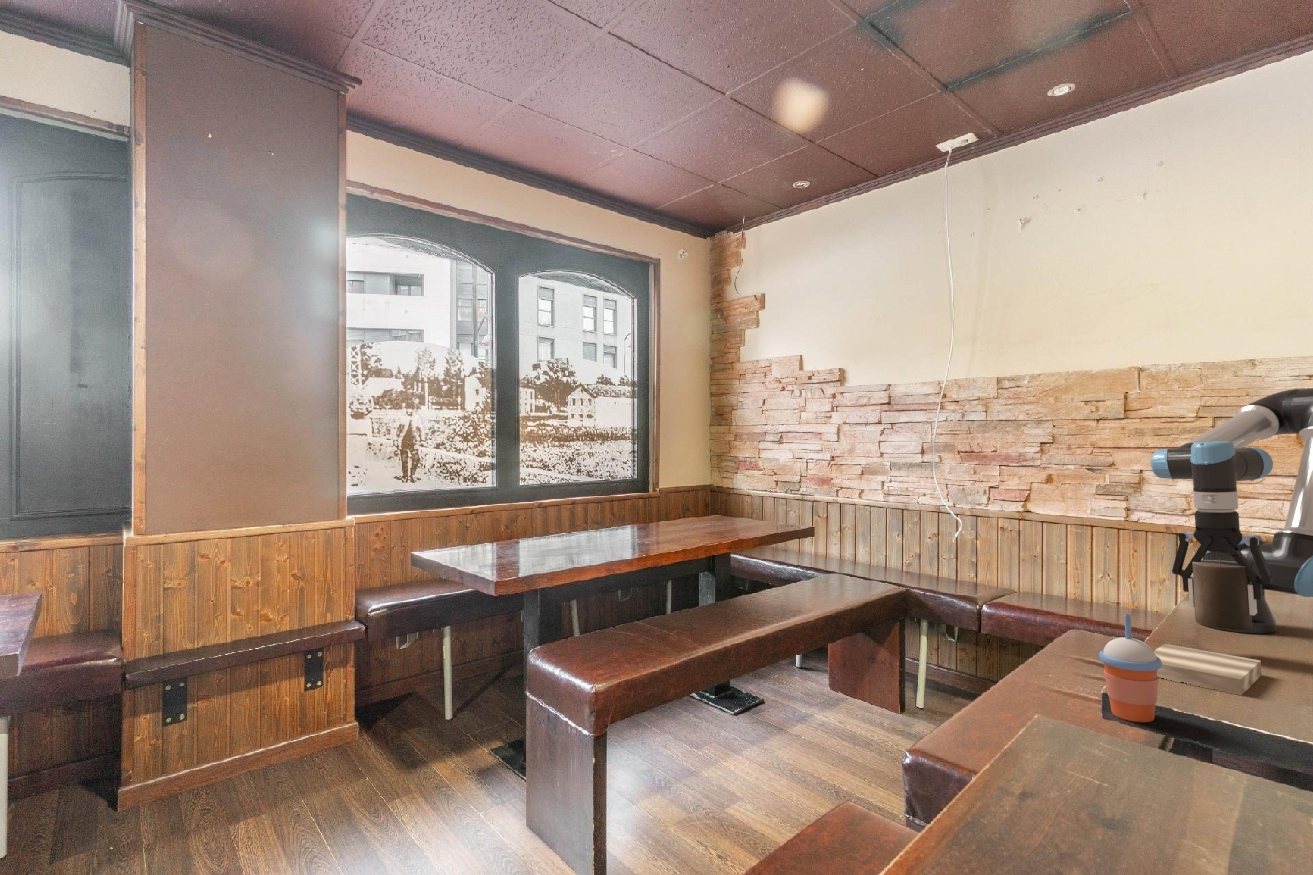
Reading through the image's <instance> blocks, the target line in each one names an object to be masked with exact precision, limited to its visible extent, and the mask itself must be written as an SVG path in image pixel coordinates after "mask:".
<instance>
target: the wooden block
mask: <svg viewBox="0 0 1313 875" xmlns="http://www.w3.org/2000/svg"><path fill="white" fill-rule="evenodd" d="M1153 651H1154V653H1155V655H1156V656H1157V657H1159V658H1160V660H1161V662H1162V667H1161V668H1160V669H1158V670H1157V676H1158V677H1159V678H1158V679H1161V678H1164V679H1163V680H1166V679H1167V680H1168V681H1171V680H1172V681H1173V682H1176V683H1180V682H1184V683H1183V684H1185V683H1187V685H1190V684H1191V686H1196V687H1199V686H1200V687H1201V688H1205V689H1210V690H1214V689H1215V690H1214V691H1219V692H1224V693H1227V694H1228V693H1229V694H1233V695H1238V696H1243V695H1244V694H1245V693H1246V691H1248V690H1249V689H1250V688H1251V686H1253V685H1254V683H1256V681H1258V680H1259V678H1261V676H1262V663H1261V660H1258V659H1253V658H1247V657H1242V656H1238V655H1237V656H1236V655H1230V654H1225V653H1220V652H1214V651H1207V650H1204V649H1203V650H1201V649H1197V648H1191V647H1185V646H1179V645H1174V644H1168V643H1163V644H1162V645H1160V646H1159V647H1157V648H1156V649H1155V650H1153ZM1167 680H1166V681H1167Z"/></svg>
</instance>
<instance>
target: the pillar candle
mask: <svg viewBox="0 0 1313 875" xmlns="http://www.w3.org/2000/svg"><path fill="white" fill-rule="evenodd" d="M1218 559H1219V560H1203V559H1201V561H1199V562H1192V565H1193V573H1192V577H1193V583H1194V620H1195V622H1196V623H1197V624H1199V625H1202V626H1205V627H1209V628H1212V627H1213V628H1212V629H1216V628H1220V629H1219V630H1221V629H1230V630H1247V629H1251V628H1252V615H1250V613H1249V599H1248V584H1249V583H1250V581H1249V578H1248V577H1247V576H1246V567H1245V566H1239V565H1238V563H1237V562H1233V561H1221V560H1220V558H1219V557H1218Z"/></svg>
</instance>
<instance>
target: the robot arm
mask: <svg viewBox="0 0 1313 875" xmlns="http://www.w3.org/2000/svg"><path fill="white" fill-rule="evenodd" d="M1297 434H1298V436H1299V437H1300V438H1301V439H1302V440H1303V441H1304V446H1303V450H1302V454H1301V458H1300V462H1299V467H1298V470H1297V474H1296V478H1295V483H1294V488H1293V490H1292V495H1291V499H1290V504H1289V508H1288V512H1287V515H1286V520H1285V523H1284V524H1285V525H1284V528H1283V529H1280V530H1278V531H1275V532H1274V534H1273V537H1272V541H1271V542H1265V541H1264V540H1263V538H1262V536H1261V535H1256V534H1243V533H1242V532H1241V530H1240V515H1239V512H1238V511H1236V510H1238V509H1239V502H1238V501H1239V498H1238V489H1237V482H1244V481H1246V482H1247V481H1251V482H1252V481H1253V482H1254V481H1255V480H1260V479H1263V478H1265V477H1267V476H1268V475H1270V473H1271V472H1272V470H1273V469H1274V468H1273V467H1274V462H1273V457H1272V456H1271V455H1270V454H1269V453H1268V452H1267V451H1266V450H1264V449H1262V448H1259V447H1252V446H1249V445H1250V444H1253V443H1254V442H1256V441H1258V440H1260V441H1261V440H1266V439H1270V438H1272V437H1273V436H1276V435H1277V436H1278V435H1297ZM1150 466H1151V470H1152V472H1153V474H1154V475H1155V476H1156V477H1157V478H1160V479H1167V480H1169V479H1171V480H1173V481H1174V480H1192V486H1193V489H1192V492H1193V493H1192V494H1193V508H1195V509H1196V511H1195V512H1194V521H1195V522H1194V526H1195V530H1194V531H1193V532H1186V531H1182V532H1179V533H1178V540H1179V541H1178V542H1179V543H1178V547H1177V551H1176V556H1175V559H1174V562H1173V564H1172V565H1173V566H1172V569H1171V573H1172V574H1174V575H1177V576H1180V577H1181V578H1182V589H1183V591H1184V592H1188V598H1189V599H1188V600H1189V608H1194V609H1195V607H1194V583H1193V565H1192V562H1199V561H1201V560H1219V559H1218V557H1219V558H1220V560H1221V561H1233V562H1237V563H1238V565H1239V566H1245V567H1246V576H1247V577H1248V578H1249V581H1250V583H1249V584H1248V599H1249V613H1250V615H1252V628H1251V629H1247V630H1230V629H1220V628H1215V629H1216V630H1220V631H1221V630H1222V631H1227V632H1235V633H1243V634H1247V633H1248V634H1270V633H1274V632H1276V631H1277V621H1276V619H1275V617H1274V614H1273V612H1272V610H1271V608H1270V606H1269V604H1268V602H1267V600H1266V593H1265V591H1271V592H1276V593H1277V592H1278V593H1284V594H1290V595H1295V596H1301V597H1303V598H1313V387H1310V388H1299V389H1298V388H1294V389H1287V390H1283V391H1278V392H1276V393H1272V394H1269V395H1267V396H1264V397H1261V398H1260V399H1257V400H1255V401H1252V402H1250V403H1249V404H1247V405H1245V406H1242V407H1241V408H1240V409H1239V410H1237V411H1236V412H1235V414H1234V416H1233V417H1231V418H1229V419H1227V420H1226V421H1224V422H1223V423H1220V424H1219V425H1217V426H1214V427H1213V428H1211V429H1209V430H1208V431H1206V432H1204V433H1202V434H1201V435H1199V436H1197V437H1194V438H1192V439H1191V440H1190V441H1188V442H1186V443H1184V444H1182V445H1180V446H1178V447H1177V448H1164V449H1163V448H1162V449H1157V450H1156V451H1154V453H1153V454H1152V456H1151V458H1150ZM1193 538H1194V539H1195V540H1196V541H1197V542H1198V543H1199V544H1200V545H1199V547H1198V548H1197V549H1196V551H1195V553H1194V554H1193V557H1192V558H1191V559H1190V560H1189V562H1188V564H1187V565H1186V567H1185V569H1183V566H1184V562H1185V561H1186V560H1185V558H1186V556H1187V551H1188V548H1189V544H1190V542H1192V540H1193ZM1211 628H1212V629H1214V628H1213V627H1211Z"/></svg>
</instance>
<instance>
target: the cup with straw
mask: <svg viewBox="0 0 1313 875" xmlns="http://www.w3.org/2000/svg"><path fill="white" fill-rule="evenodd" d="M1131 617H1132V615H1131V614H1130V613H1125V614H1124V631H1125V632H1124V633H1125V634H1124V635H1125V636H1124V637H1115V638H1114V639H1112V640H1110V641H1108V642H1107V644H1105V646H1104V648H1103V649H1102V650H1099V653H1098V658H1099V660H1100V661H1101V662H1102V663H1103V664H1104V666H1103V667H1104V669H1103V673H1104V680H1105V685H1106V693H1107V695H1108V698H1109V699H1108V700H1109V703H1110V711H1111V713H1112V714H1113V715H1114V716H1115V717H1117V718H1119V719H1122V720H1125V721H1129V722H1134V723H1150V722H1153V721H1154V720H1155V712H1156V711H1155V710H1156V704H1157V702H1158V690H1159V689H1158V688H1159V687H1158V686H1159V678H1158V676H1157V670H1158V669H1160V668H1161V667H1162V662H1161V660H1160V658H1159V657H1157V656H1156V655H1155V653H1154V650H1153V648H1152V647H1150V645H1149V644H1147V643H1145V642H1144V641H1143V640H1140V639H1137V638H1133V637H1132V635H1133V634H1132V618H1131Z"/></svg>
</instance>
